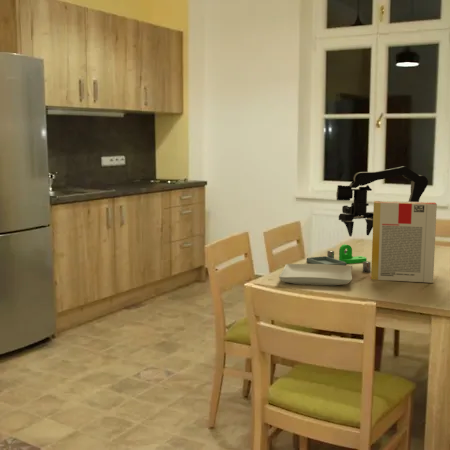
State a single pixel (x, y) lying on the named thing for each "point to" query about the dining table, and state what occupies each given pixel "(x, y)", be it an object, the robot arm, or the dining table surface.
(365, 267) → the spacer posts
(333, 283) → the square plate
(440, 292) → the dining table surface
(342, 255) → the mechanical part
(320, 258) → the parts tray
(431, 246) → the pasta box
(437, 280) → the dining table surface
